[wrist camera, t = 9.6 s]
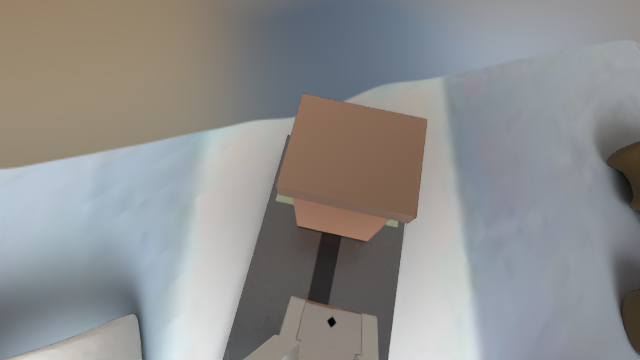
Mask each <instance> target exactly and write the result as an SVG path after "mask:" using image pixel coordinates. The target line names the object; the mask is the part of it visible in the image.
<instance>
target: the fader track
mask: <svg viewBox="0 0 640 360" xmlns="http://www.w3.org/2000/svg"><path fill="white" fill-rule="evenodd" d="M290 136H291V135H288V136H287V140H286V143H285V147H284V150H283V153H282V157H281V160H280V164H279V167H278V171H277V174H276V178H275V181H274V184H273V188H272V191H271V195H270V198H269V202H268V205H267V209H266V212H265V216H264V219H263V222H262V226H261V229H260V233H259V236H258V240H257V243H256V247H255V250H254V253H253V257H252V260H251V264H250V267H249V271H248V274H247V278H246V281H245V285H244V288H243V291H242V295H241V298H240V302H239V305H238V309H237V312H236V316H235V319H234V322H233V326H232V329H231V333H230V336H229V340H228V343H227V347H226V350H225V354H224V357H223V360H244V359H245V358H246V357H247V356H249V355H250V354H251V353H252V352H254V351H255V350H256V349H257V348H259V347H260V346H261V345H262V344H264V343H265V342H266V341H267V340H269V339H270V338H271V337H272V336H274V335H279V334H280V331H281V328H282V324H283V321H284V318H285V314H286V311H287V308H288V305H289V301H290V299H291V297H292V296H294V297H297V298H301V299H305V300H310V301H313V302H317V303H321V304H325V305H328V306H332V307H338V308H342V309H346V310H351V311H355V312H359V313H364V314H368V315H372V316H376V318H377V331H378V358H379V360H388V354H389V346H390V338H391V330H392V322H393V314H394V306H395V298H396V290H397V282H398V274H399V266H400V258H401V250H402V241H403V233H404V225H405V223H404V222H399V221H395V220H389V221H388V222H387V223H386V224H385V225H384V226H383V227H382V228H381V229H380V230H379V231H378V232H377V233H376V234H375V235H373V236H372V237H371V238H370V239H369V240H368V241H363V240H359V239H354V238H350V237H345V236H341V235H336V234H332V233H327V232H323V231H319V230H314V229H310V228H305V227H301V226H297V221H296V215H295V208H294V202H293V198H291V197H286V196H282V195H279V194H278V191H277V187H276V185H277V182H278V178H279V175H280V171H281V168H282V164H283V161H284V157H285V154H286V150H287V147H288V143H289V140H290ZM305 302H306V301H305Z"/></svg>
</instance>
